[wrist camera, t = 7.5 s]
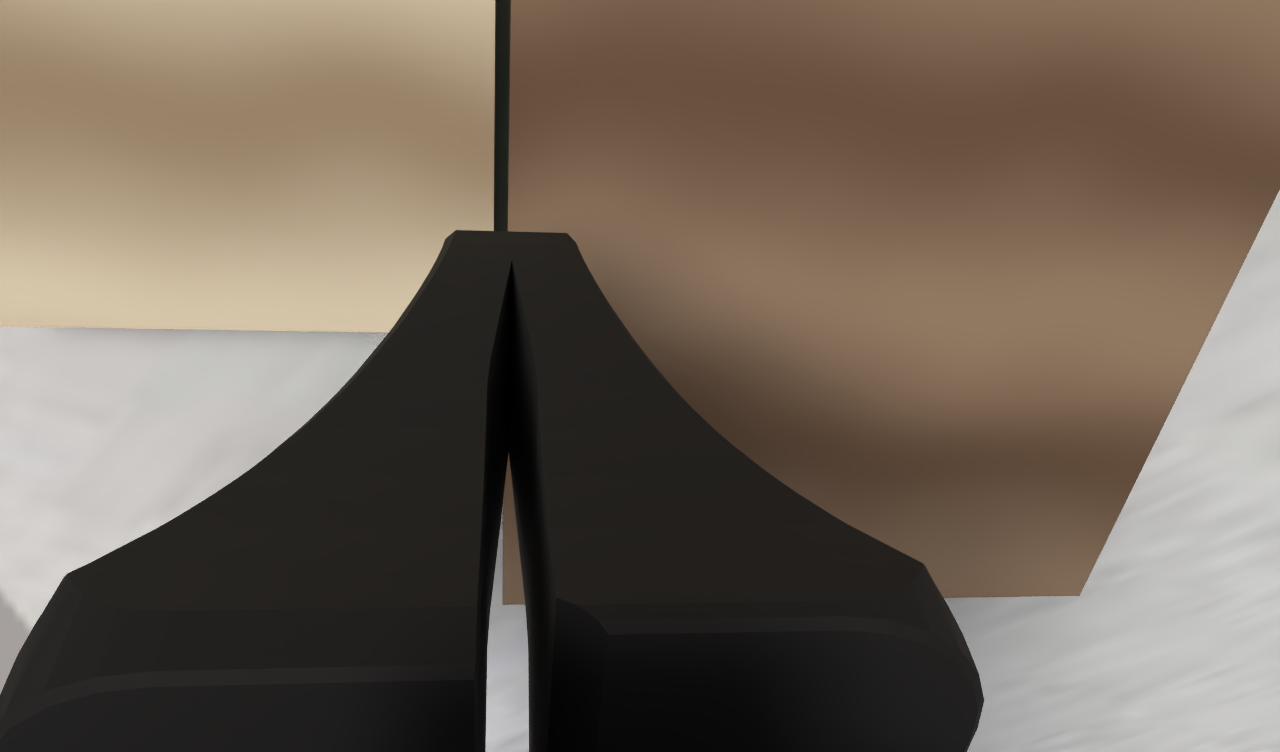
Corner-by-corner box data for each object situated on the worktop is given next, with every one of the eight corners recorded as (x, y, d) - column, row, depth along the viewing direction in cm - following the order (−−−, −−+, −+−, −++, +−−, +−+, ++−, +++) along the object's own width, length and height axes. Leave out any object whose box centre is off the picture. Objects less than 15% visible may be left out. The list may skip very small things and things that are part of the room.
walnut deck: (1043, 526, 25) (1079, 595, 23) (502, 530, 23) (502, 604, 22) (1586, -715, 13) (1740, -745, 11) (521, -875, 11) (524, -934, 10)
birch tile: (494, 264, 19) (493, 334, 17) (-10, 252, 18) (-60, 325, 16) (497, -109, 15) (495, -63, 14) (-137, -151, 14) (-218, -106, 13)
